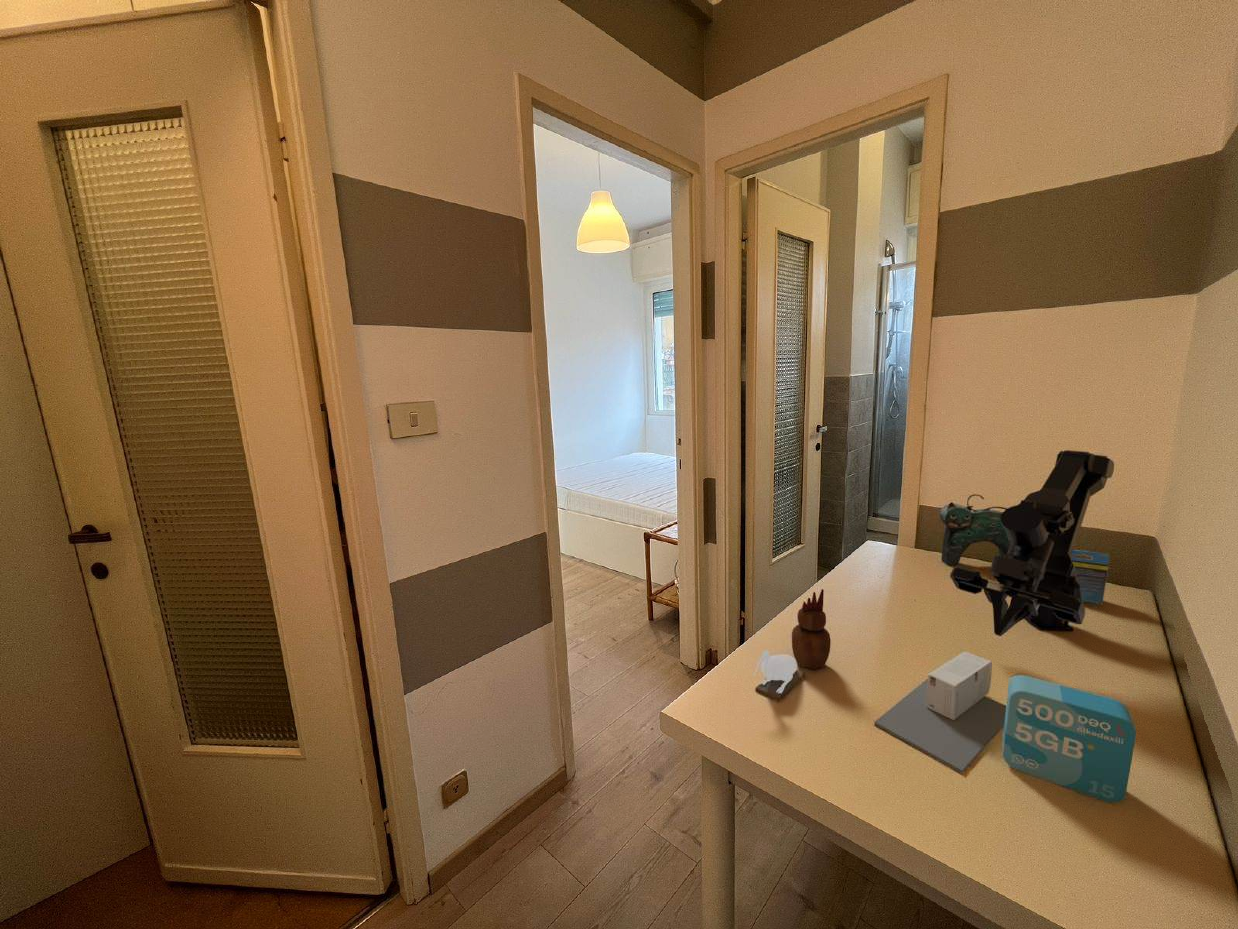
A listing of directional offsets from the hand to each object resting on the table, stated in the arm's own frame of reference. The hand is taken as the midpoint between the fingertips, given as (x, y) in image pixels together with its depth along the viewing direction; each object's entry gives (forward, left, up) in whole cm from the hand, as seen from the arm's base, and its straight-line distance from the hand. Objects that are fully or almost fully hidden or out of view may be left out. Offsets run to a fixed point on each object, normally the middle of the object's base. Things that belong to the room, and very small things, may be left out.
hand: (997, 634), depth 87 cm
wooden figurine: (+32, 0, -8) cm, 32 cm away
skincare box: (+6, +5, -4) cm, 9 cm away
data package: (+5, +23, -8) cm, 25 cm away
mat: (+14, +14, -7) cm, 21 cm away
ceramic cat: (-24, -53, -8) cm, 59 cm away
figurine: (+39, +9, -8) cm, 41 cm away
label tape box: (-34, -33, -8) cm, 48 cm away
